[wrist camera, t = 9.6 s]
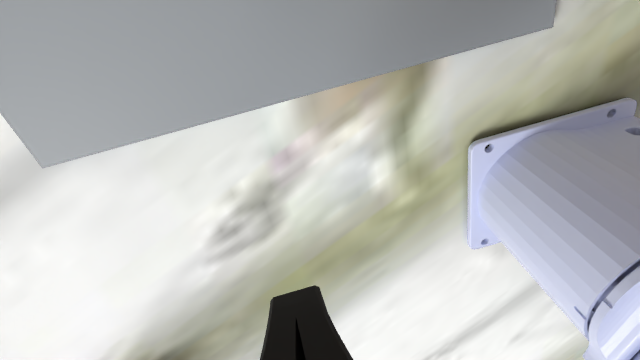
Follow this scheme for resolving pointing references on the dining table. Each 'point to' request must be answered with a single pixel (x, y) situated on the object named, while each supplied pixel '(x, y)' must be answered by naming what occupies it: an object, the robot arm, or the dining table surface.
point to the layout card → (213, 58)
